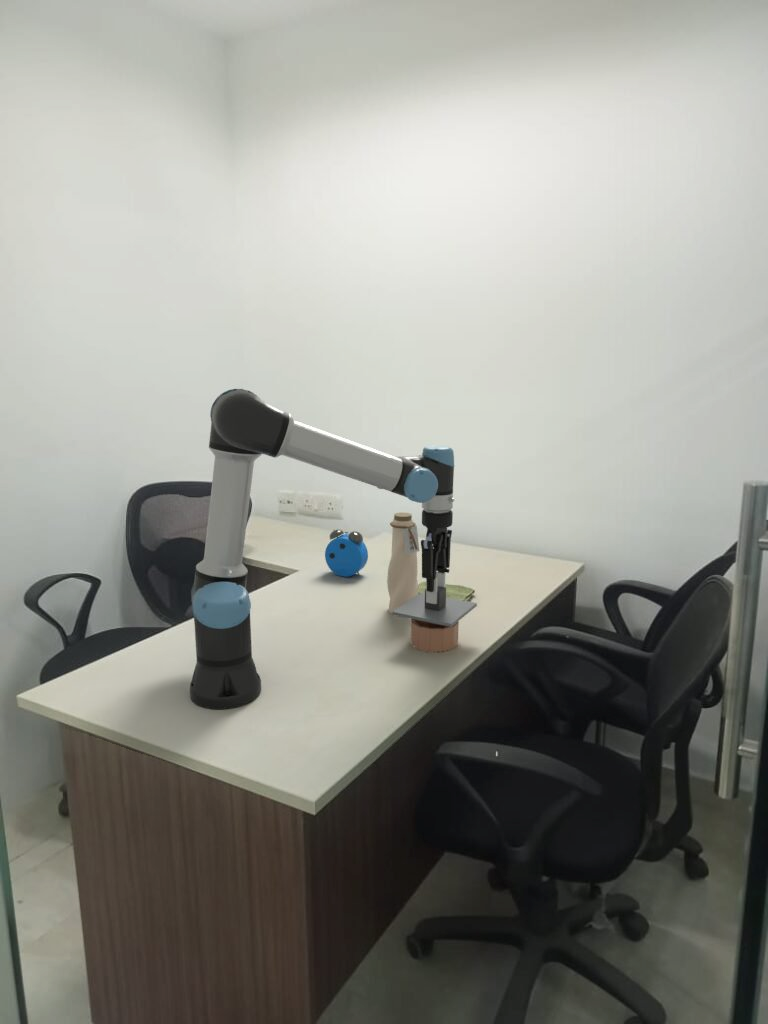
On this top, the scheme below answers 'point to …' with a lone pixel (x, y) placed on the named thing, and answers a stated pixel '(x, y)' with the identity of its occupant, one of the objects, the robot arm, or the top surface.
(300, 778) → the top surface
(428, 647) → the bowl
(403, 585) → the water bottle
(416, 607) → the cover sheet
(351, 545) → the alarm clock
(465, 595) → the washcloth
